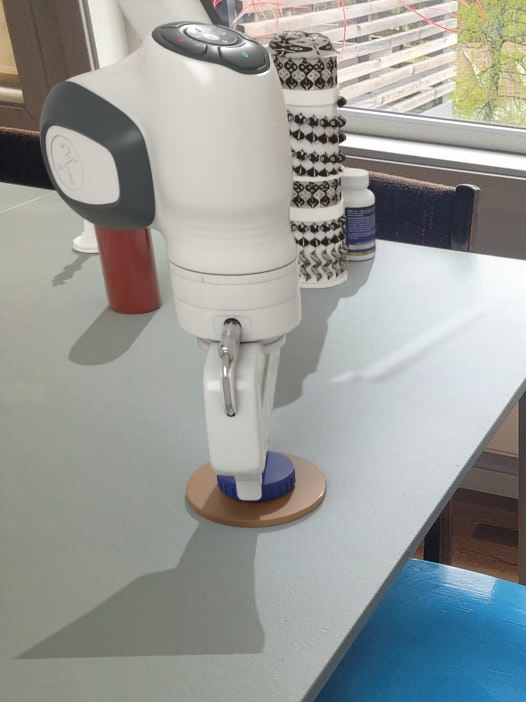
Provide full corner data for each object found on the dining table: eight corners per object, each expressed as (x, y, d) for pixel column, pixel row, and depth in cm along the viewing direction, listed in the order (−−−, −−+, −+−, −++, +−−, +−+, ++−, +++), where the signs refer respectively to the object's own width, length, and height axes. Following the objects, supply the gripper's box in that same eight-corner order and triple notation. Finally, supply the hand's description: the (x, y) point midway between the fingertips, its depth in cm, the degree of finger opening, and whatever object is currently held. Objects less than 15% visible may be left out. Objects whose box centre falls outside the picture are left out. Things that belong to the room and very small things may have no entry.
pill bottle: (383, 252, 127) (383, 170, 121) (362, 264, 123) (360, 180, 117) (347, 245, 128) (344, 163, 122) (324, 256, 125) (321, 173, 118)
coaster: (178, 528, 75) (177, 521, 75) (195, 457, 84) (194, 451, 83) (324, 526, 77) (324, 520, 76) (327, 457, 85) (327, 450, 85)
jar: (104, 313, 107) (85, 214, 100) (113, 294, 111) (96, 198, 105) (157, 314, 107) (142, 215, 101) (165, 295, 112) (151, 200, 105)
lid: (302, 468, 82) (301, 452, 81) (285, 504, 77) (284, 488, 76) (230, 462, 82) (228, 447, 81) (208, 498, 77) (206, 482, 77)
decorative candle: (304, 257, 124) (290, 24, 108) (366, 273, 121) (361, 35, 105) (257, 278, 117) (236, 33, 102) (322, 295, 114) (310, 44, 98)
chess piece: (92, 255, 120) (75, 167, 114) (64, 247, 122) (46, 159, 116) (123, 246, 124) (109, 159, 117) (95, 237, 125) (80, 151, 119)
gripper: (273, 356, 62) (288, 540, 71) (289, 249, 78) (300, 411, 87) (170, 355, 62) (198, 541, 70) (207, 248, 78) (226, 411, 86)
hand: (254, 468), depth 79 cm, fingers open, 7 cm apart
